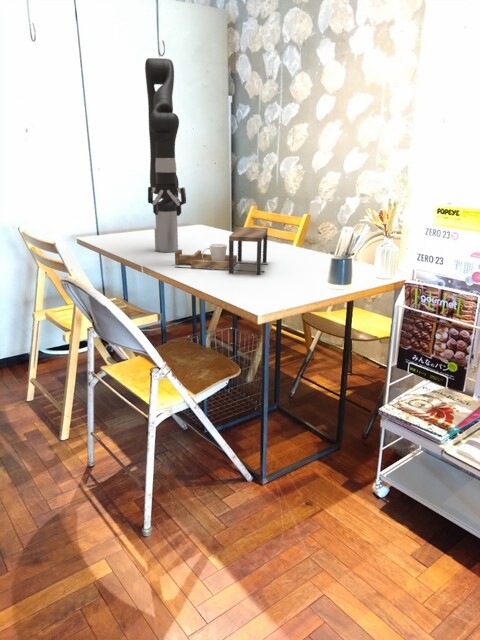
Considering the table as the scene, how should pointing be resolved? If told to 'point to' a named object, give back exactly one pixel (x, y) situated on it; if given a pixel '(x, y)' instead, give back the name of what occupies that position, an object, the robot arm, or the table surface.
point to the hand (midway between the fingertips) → (167, 215)
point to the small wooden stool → (250, 236)
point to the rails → (226, 269)
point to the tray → (197, 257)
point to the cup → (217, 251)
